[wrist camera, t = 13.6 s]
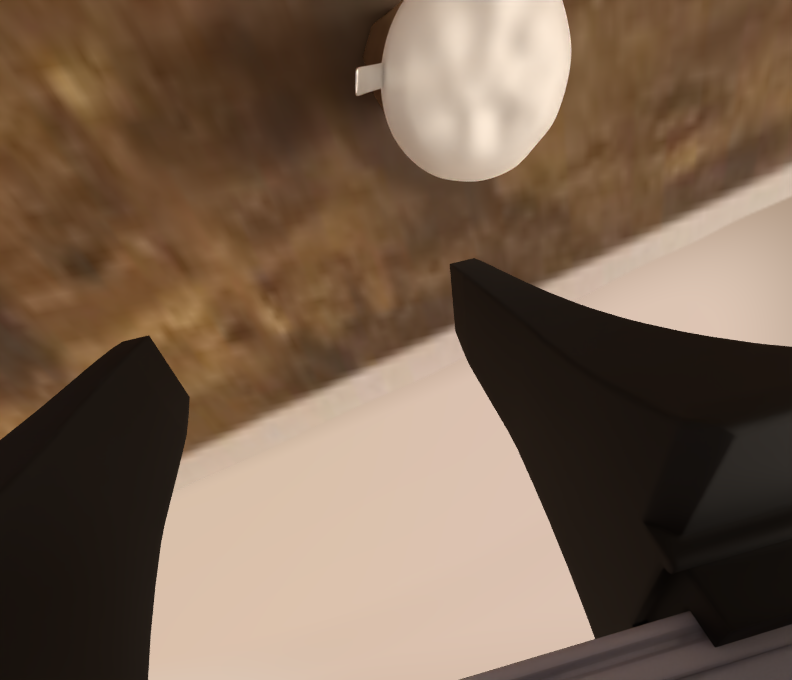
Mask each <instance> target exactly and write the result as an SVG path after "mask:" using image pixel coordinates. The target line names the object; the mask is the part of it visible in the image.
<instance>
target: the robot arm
mask: <svg viewBox="0 0 792 680" xmlns="http://www.w3.org/2000/svg"><path fill="white" fill-rule="evenodd" d="M450 272H451V284H452V296H453V308H454V320H455V331H456V334H457V336H458V339H459V341H460V344H461V346H462V349H463V351H464V354H465V356H466V358H467V361H468V363H469V365H470V367H471V368H472V370H473V372H474V374H475V375H476V377H477V379H478V381H479V382H480V384H481V386H482V387H483V389H484V391H485V393H486V394H487V396H488V397H489V399H490V401H491V403H492V404H493V406H494V408H495V410H496V411H497V413H498V415H499V416H500V418H501V420H502V421H503V423H504V425H505V426H506V428H507V430H508V432H509V434H510V435H511V437H512V439H513V441H514V443H515V445H516V447H517V449H518V451H519V453H520V455H521V458H522V460H523V462H524V464H525V467H526V469H527V471H528V473H529V476H530V478H531V480H532V482H533V484H534V487H535V489H536V492H537V494H538V496H539V498H540V501H541V503H542V506H543V508H544V510H545V512H546V515H547V517H548V519H549V521H550V524H551V527H552V529H553V532H554V534H555V537H556V539H557V541H558V544H559V546H560V549H561V551H562V554H563V556H564V558H565V561H566V563H567V566H568V568H569V571H570V574H571V576H572V579H573V581H574V584H575V586H576V589H577V592H578V594H579V597H580V599H581V602H582V605H583V607H584V610H585V613H586V615H587V618H588V620H589V623H590V626H591V629H592V631H593V634H594V637H595V639H594V640H591V641H587V642H584V643H581V644H577V645H574V646H570V647H567V648H564V649H561V650H557V651H554V652H550V653H547V654H544V655H540V656H537V657H534V658H530V659H527V660H524V661H520V662H517V663H514V664H510V665H507V666H504V667H500V668H497V669H494V670H490V671H487V672H484V673H480V674H477V675H474V676H470V677H467V678H464V679H460V680H792V347H787V346H778V345H767V344H758V343H750V342H744V341H737V340H730V339H723V338H717V337H709V336H704V335H699V334H692V333H687V332H682V331H677V330H672V329H668V328H663V327H659V326H654V325H649V324H645V323H641V322H637V321H633V320H629V319H625V318H622V317H618V316H615V315H612V314H608V313H605V312H601V311H598V310H595V309H592V308H589V307H586V306H583V305H580V304H577V303H575V302H572V301H570V300H567V299H564V298H562V297H559V296H557V295H554V294H552V293H549V292H547V291H544V290H542V289H540V288H538V287H535V286H533V285H531V284H529V283H526V282H524V281H522V280H520V279H518V278H516V277H514V276H512V275H510V274H507V273H505V272H503V271H501V270H499V269H497V268H495V267H493V266H491V265H489V264H487V263H485V262H482V261H480V260H477V259H475V258H473V259H469V260H465V261H461V262H456V263H452V264H450ZM189 398H190V397H189V396H188V394H187V393H186V391H185V390H184V388H183V386H182V385H181V383H180V382H179V380H178V379H177V377H176V376H175V374H174V373H173V371H172V370H171V368H170V367H169V365H168V364H167V362H166V361H165V359H164V358H163V356H162V354H161V353H160V351H159V350H158V348H157V347H156V345H155V344H154V342H153V341H152V339H151V338H150V336H145V337H140V338H136V339H132V340H128V341H124V342H121V343H120V344H118V345H117V346H115V347H114V348H112V349H111V350H110V351H108V352H107V353H106V354H104V355H103V356H102V357H101V358H99V359H98V360H97V361H96V362H94V363H93V364H92V365H91V366H90V367H88V368H87V369H86V370H85V371H84V372H82V373H81V374H80V375H79V376H78V377H77V378H75V379H74V380H73V381H72V382H71V383H70V384H68V385H67V386H66V387H65V388H64V389H62V390H61V391H60V392H59V393H58V394H57V395H55V396H54V397H53V398H52V399H51V400H49V401H48V402H47V403H46V404H45V405H44V406H42V407H41V408H40V409H39V410H37V411H36V412H35V413H34V414H32V415H31V416H30V417H29V418H27V419H26V420H25V421H24V422H22V423H21V424H20V425H19V426H17V427H16V428H15V429H14V430H12V431H11V432H10V433H9V434H7V435H6V436H5V437H4V438H2V439H1V440H0V680H148V668H149V653H150V635H151V624H152V615H153V605H154V594H155V584H156V577H157V569H158V562H159V554H160V547H161V540H162V535H163V529H164V525H165V521H166V517H167V512H168V509H169V505H170V500H171V497H172V493H173V489H174V485H175V481H176V477H177V473H178V469H179V465H180V461H181V457H182V452H183V448H184V444H185V439H186V435H187V426H188V415H189Z"/></svg>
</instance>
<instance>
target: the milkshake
mask: <svg viewBox="0 0 792 680" xmlns="http://www.w3.org/2000/svg"><path fill="white" fill-rule="evenodd" d="M363 60H364V64H365V66H360V67H357V68H356V71H355V94H356V96H361V95H364V94H366V93H369V92H373V94H374V96H375V97H376V99H377V101H378V103H379V105H380V106H381V108H382V110H383V112H384V115H385V117H386V120H387V123H388V126H389V128H390V130H391V133H392V135H393V137H394V138H395V140H396V142H397V143H398V145H399V146H400V148H401V149H402V150H403V152H404V153H405V154H406V155H407V156H408V157H409V158H410V159H411V160H412V161H413V162H414V163H415V164H416V165H418V166H419V167H420V168H422V169H423V170H425V171H426V172H428V173H430V174H432V175H434V176H436V177H439V178H443V179H447V180H454V181H467V182H470V181H482V180H487V179H490V178H494V177H497V176H499V175H502V174H504V173H506V172H508V171H510V170H511V169H513V168H514V167H516V166H517V165H518V164H519V163H520V162H521V161H522V160H523V159H524V158H525V157H526V156H527V155H528V154H529V153H530V152H531V150H532V149H533V148H534V147H535V146H536V144H537V143H538V142H539V141H540V140H541V139H542V137H543V136H544V135H545V134H546V132H547V131H548V130H549V128H550V127H551V126H552V124H553V122H554V120H555V118H556V116H557V114H558V111H559V109H560V106H561V103H562V99H563V96H564V93H565V89H566V85H567V81H568V76H569V71H570V63H571V39H570V31H569V26H568V21H567V16H566V12H565V8H564V5H563V1H562V0H401V1H400V2H399V3H398V5H396V6H395V7H394V8H393V9H391V10H390V11H389V12H388V13H386V14H385V15H384V16H383V17H381V18H380V19H379V20H378V21H376V22H375V23H374V24H372V27H371V30H370V34H369V37H368V40H367V44H366V47H365V50H364V54H363Z"/></svg>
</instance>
